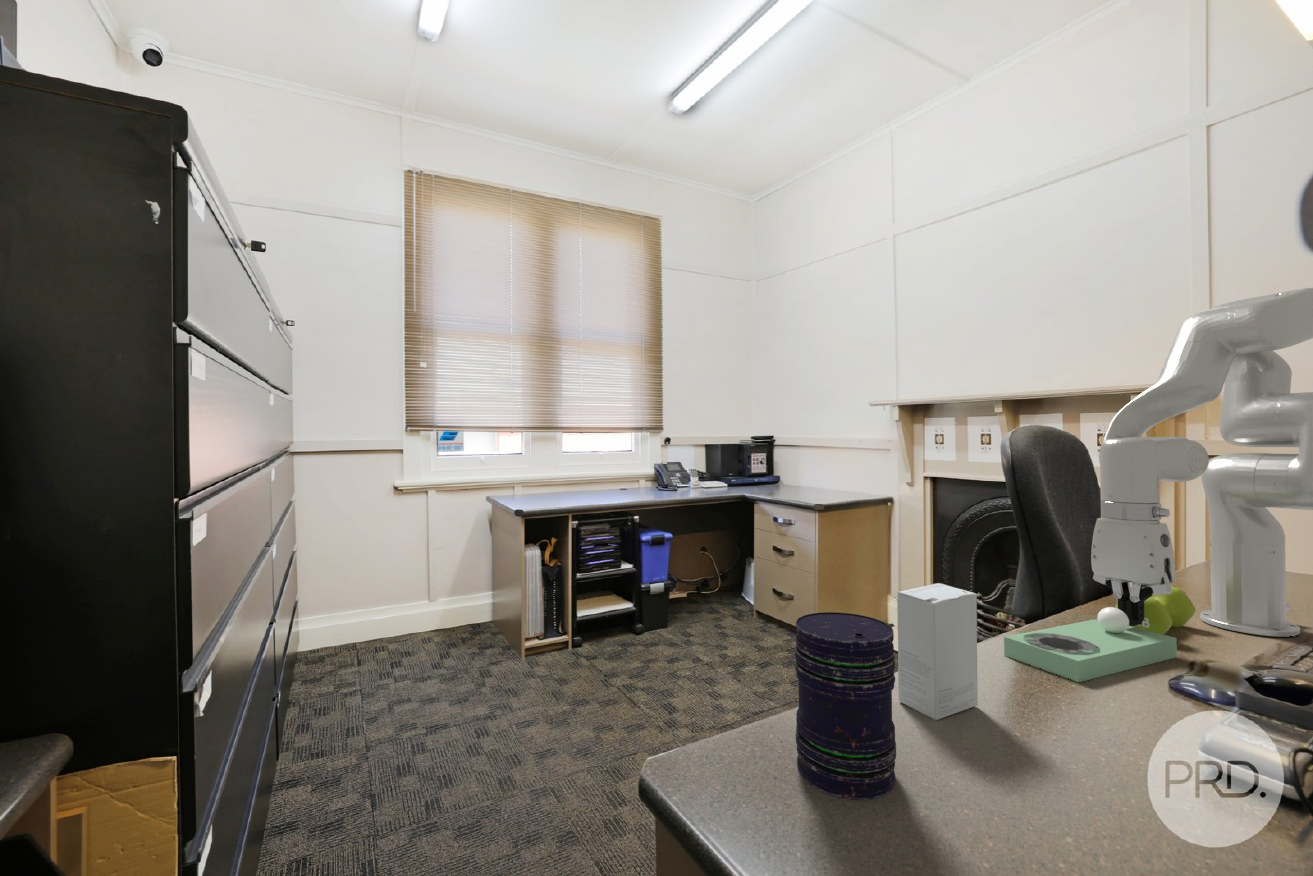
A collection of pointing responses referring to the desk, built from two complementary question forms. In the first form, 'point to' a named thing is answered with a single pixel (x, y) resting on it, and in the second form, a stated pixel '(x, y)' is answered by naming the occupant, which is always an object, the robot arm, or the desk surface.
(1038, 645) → the putting mat
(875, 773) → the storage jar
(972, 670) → the skincare box
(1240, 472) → the robot arm
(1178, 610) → the dumbbell
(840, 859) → the desk surface
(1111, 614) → the white egg
